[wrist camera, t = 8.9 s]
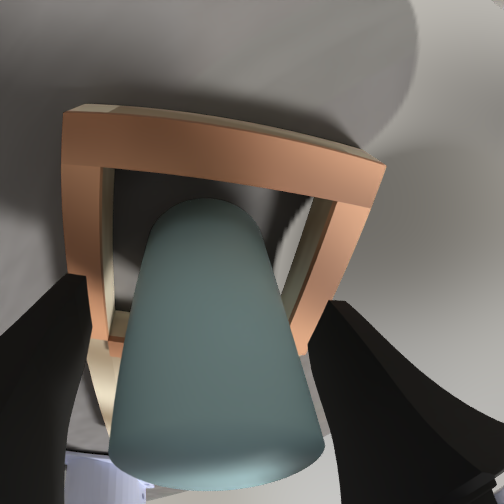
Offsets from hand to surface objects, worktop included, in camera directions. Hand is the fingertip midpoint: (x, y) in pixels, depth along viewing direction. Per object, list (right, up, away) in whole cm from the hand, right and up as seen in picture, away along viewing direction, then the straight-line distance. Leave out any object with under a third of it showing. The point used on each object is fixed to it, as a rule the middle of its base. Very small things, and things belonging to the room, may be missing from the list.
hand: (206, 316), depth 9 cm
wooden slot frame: (-2, -3, +6) cm, 6 cm away
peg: (0, +2, +3) cm, 3 cm away
